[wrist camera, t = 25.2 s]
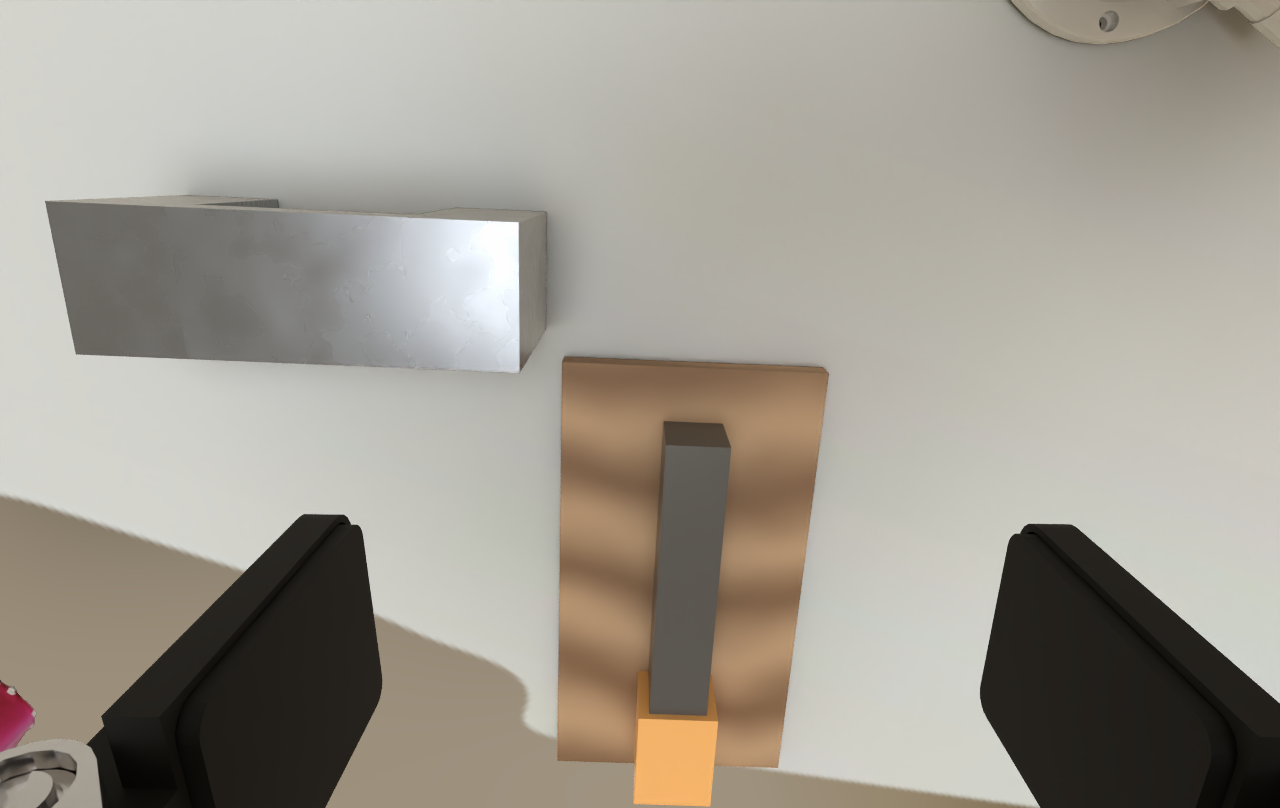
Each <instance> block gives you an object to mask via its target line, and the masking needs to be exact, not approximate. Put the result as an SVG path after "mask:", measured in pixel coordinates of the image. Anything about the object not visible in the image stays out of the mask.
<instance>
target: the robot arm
mask: <svg viewBox="0 0 1280 808" xmlns="http://www.w3.org/2000/svg"><path fill="white" fill-rule="evenodd" d="M1011 1H1012V3H1013V4H1014V5H1015V6H1016V7H1017V8H1018V9H1019V10H1020V11H1021V12H1022V13H1023V14H1024V15H1025V16H1026V17H1027V18H1028V19H1029V20H1030V21H1031V22H1033V23H1035V24H1036V25H1038V26H1039V27H1041V28H1042V29H1044V30H1046V31H1047V32H1049V33H1050V34H1053V35H1056V36H1059V37H1062V38H1065V39H1067V40H1070V41H1073V42H1081V43H1090V44H1108V43H1117V42H1126V41H1129V40H1132V39H1136V38H1140V37H1144V36H1148V35H1151V34H1153V33H1156V32H1158V31H1161V30H1163V29H1166V28H1168V27H1170V26H1173V25H1175V24H1177V23H1179V22H1180V21H1182V20H1183V19H1185V18H1187V17H1188V16H1190V15H1191V14H1193V13H1195V12H1196V11H1198V10H1199V9H1201V8H1202V7H1203V6H1204V5H1206V4H1207V3H1208V2H1209V1H1210V2H1211V3H1212V4H1213V5H1214V6H1216V7H1217V8H1218V9H1219V10H1228V9H1230V8H1232V7H1235V8H1236V9H1237V10H1238V11H1239V12H1241V13H1242V14H1243V15H1244V16H1245V17H1246V18H1248V22H1249V23H1250V24H1251V25H1252V26H1253V27H1255V28H1256V29H1257V30H1258V31H1259V32H1260V33H1262V34H1263V35H1264V36H1265V37H1266V38H1267V39H1269V40H1270V41H1271V42H1272V43H1273V44H1274V45H1276V46H1277V47H1279V48H1280V0H1011ZM1099 20H1100V22H1101V28H1100V27H1099ZM381 689H382V673H381V665H380V658H379V651H378V643H377V636H376V629H375V621H374V614H373V606H372V599H371V592H370V584H369V577H368V570H367V562H366V555H365V548H364V540H363V534H362V530H361V528H360V527H359V526H358V525H351V523H350V521H349V519H348V517H346V516H345V515H320V514H304V515H302V516H301V517H299V518H298V519H297V520H296V521H295V522H294V523H293V524H292V525H291V526H290V527H289V528H288V529H287V530H286V531H285V532H284V533H283V534H282V535H281V536H280V537H279V538H278V539H277V540H276V541H275V542H274V543H273V544H272V545H271V546H270V547H269V548H268V549H267V550H266V551H265V552H264V553H263V554H262V555H261V556H260V557H259V558H258V559H257V560H256V561H255V562H254V563H253V564H252V565H251V566H250V567H249V568H248V569H247V570H246V571H245V572H244V573H243V574H242V575H241V577H239V578H238V579H237V580H236V581H235V582H234V583H233V584H232V586H230V587H229V588H228V589H227V591H225V592H224V593H223V594H222V595H221V597H219V598H218V599H217V600H216V601H215V602H214V603H213V604H212V606H211V607H209V609H207V610H206V611H205V613H203V615H202V616H201V617H200V618H199V619H198V620H197V621H196V622H195V623H194V624H193V625H192V626H191V627H190V628H189V629H188V630H187V631H186V632H185V633H184V634H183V635H182V636H181V637H180V638H179V639H178V640H177V641H176V642H175V643H174V644H173V645H172V646H171V647H170V648H169V649H168V650H167V651H166V652H165V653H164V654H163V655H162V656H161V657H160V658H159V659H158V660H157V661H156V662H155V663H154V664H153V665H152V666H151V667H150V668H149V669H148V670H147V671H146V672H145V673H144V674H143V675H142V676H141V677H140V678H139V679H138V680H137V681H136V682H135V683H134V684H133V685H132V686H131V687H130V688H129V689H128V690H127V691H126V692H125V693H124V694H123V695H122V696H121V697H120V698H119V699H118V700H117V701H116V702H115V703H114V704H113V705H112V706H111V707H110V708H109V709H108V710H107V711H106V712H105V713H104V714H103V715H102V716H101V717H102V720H103V724H104V727H103V728H102V729H101V730H100V731H99V732H98V733H97V734H96V735H95V736H94V737H93V738H92V739H91V740H90V742H88V744H86V745H85V744H83V743H82V742H80V741H78V740H68V739H51V740H44V741H37V742H32V743H28V744H25V745H21V746H18V747H15V748H11V749H8V750H5V751H2V752H0V808H325V807H326V805H327V803H328V801H329V799H330V797H331V795H332V793H333V791H334V789H335V787H336V785H337V783H338V781H339V779H340V777H341V775H342V774H343V771H344V770H345V768H346V766H347V764H348V762H349V760H350V757H351V756H352V754H353V752H354V750H355V748H356V746H357V744H358V742H359V740H360V738H361V736H362V734H363V732H364V730H365V728H366V726H367V724H368V722H369V720H370V718H371V716H372V714H373V712H374V711H375V708H376V707H377V704H378V702H379V699H380V695H381ZM980 699H981V704H982V708H983V711H984V713H985V715H986V717H987V719H988V721H989V722H990V724H991V726H992V727H993V729H994V731H995V732H996V734H997V736H998V737H999V739H1000V741H1001V742H1002V744H1003V746H1004V747H1005V749H1006V751H1007V752H1008V754H1009V756H1010V757H1011V759H1012V761H1013V762H1014V764H1015V766H1016V767H1017V769H1018V771H1019V772H1020V774H1021V776H1022V778H1023V779H1024V781H1025V783H1026V784H1027V786H1028V788H1029V789H1030V791H1031V793H1032V794H1033V796H1034V798H1035V799H1036V801H1037V803H1038V804H1039V806H1040V808H1280V703H1278V702H1277V701H1276V700H1275V699H1274V698H1273V697H1272V696H1270V695H1269V694H1268V693H1267V692H1266V691H1265V690H1263V689H1262V688H1261V687H1260V686H1259V685H1258V684H1257V683H1255V682H1254V681H1253V680H1252V679H1251V678H1250V677H1248V676H1247V675H1246V674H1245V673H1244V672H1243V671H1242V670H1240V669H1239V668H1238V667H1237V666H1236V665H1235V664H1233V663H1232V662H1231V661H1230V660H1229V659H1228V658H1227V657H1225V656H1224V655H1223V654H1222V653H1221V652H1220V651H1218V650H1217V649H1216V648H1215V647H1214V646H1213V645H1212V644H1210V643H1209V642H1208V641H1207V640H1206V639H1205V638H1203V637H1202V636H1201V635H1200V634H1199V633H1198V632H1197V631H1195V630H1194V629H1193V628H1192V627H1191V626H1190V625H1188V624H1187V623H1186V622H1185V621H1184V620H1183V619H1182V618H1180V617H1179V616H1178V615H1177V614H1176V613H1175V612H1173V611H1172V610H1171V609H1170V608H1169V607H1168V606H1167V605H1165V604H1164V603H1163V602H1162V601H1161V600H1160V599H1158V598H1157V597H1156V596H1155V595H1154V594H1153V593H1152V592H1150V591H1149V590H1148V589H1147V588H1146V587H1145V586H1144V585H1142V584H1141V583H1140V582H1139V581H1138V580H1137V579H1135V578H1134V577H1133V576H1132V575H1131V574H1130V573H1129V572H1127V571H1126V570H1125V569H1124V568H1123V567H1122V566H1120V565H1119V564H1118V563H1117V562H1116V561H1115V560H1114V559H1112V558H1111V557H1110V556H1109V555H1108V554H1107V553H1105V552H1104V551H1103V550H1102V549H1101V548H1100V547H1099V546H1097V545H1096V544H1095V543H1094V542H1093V541H1092V540H1090V539H1089V538H1088V537H1087V536H1086V535H1085V534H1084V533H1082V532H1081V531H1080V530H1079V529H1078V528H1076V527H1075V526H1073V525H1067V524H1028V525H1026V526H1024V528H1023V529H1022V531H1021V533H1020V534H1014V535H1013V536H1012V537H1011V538H1010V540H1009V543H1008V547H1007V552H1006V557H1005V563H1004V568H1003V573H1002V578H1001V583H1000V588H999V593H998V599H997V604H996V609H995V614H994V619H993V624H992V629H991V635H990V640H989V645H988V650H987V655H986V660H985V665H984V670H983V676H982V681H981V686H980Z"/></svg>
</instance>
